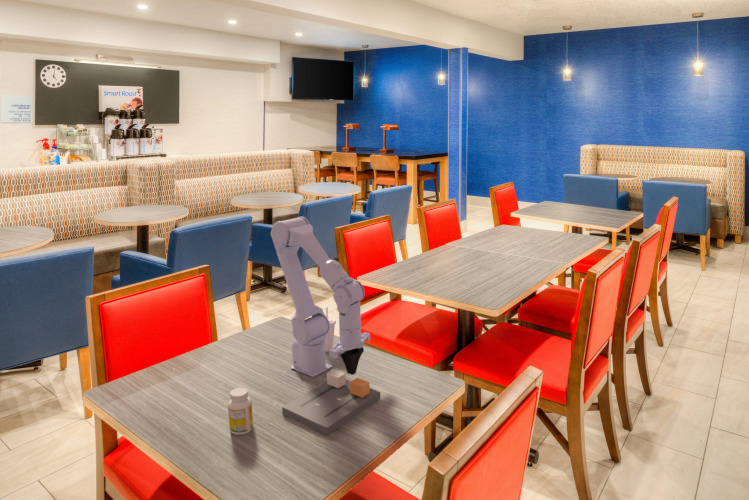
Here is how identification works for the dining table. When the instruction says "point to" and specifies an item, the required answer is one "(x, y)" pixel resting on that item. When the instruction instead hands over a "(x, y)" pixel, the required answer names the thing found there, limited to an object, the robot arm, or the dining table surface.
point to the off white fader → (336, 378)
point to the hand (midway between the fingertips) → (351, 372)
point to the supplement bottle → (240, 412)
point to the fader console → (328, 407)
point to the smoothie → (329, 333)
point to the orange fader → (359, 387)
